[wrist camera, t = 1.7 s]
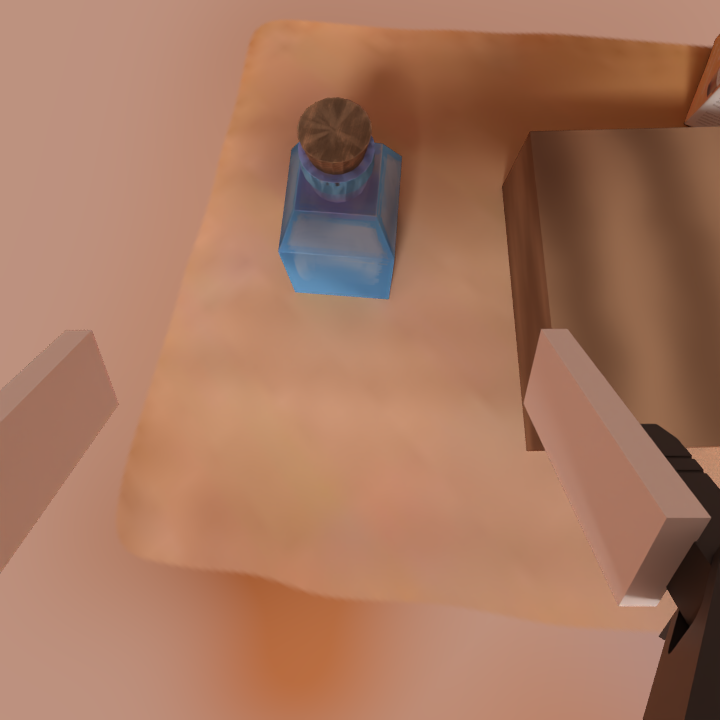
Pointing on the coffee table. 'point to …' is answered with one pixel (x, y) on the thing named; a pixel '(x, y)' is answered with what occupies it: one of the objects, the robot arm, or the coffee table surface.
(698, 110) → the small box
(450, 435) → the coffee table surface
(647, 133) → the walnut riser block
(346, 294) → the perfume bottle
